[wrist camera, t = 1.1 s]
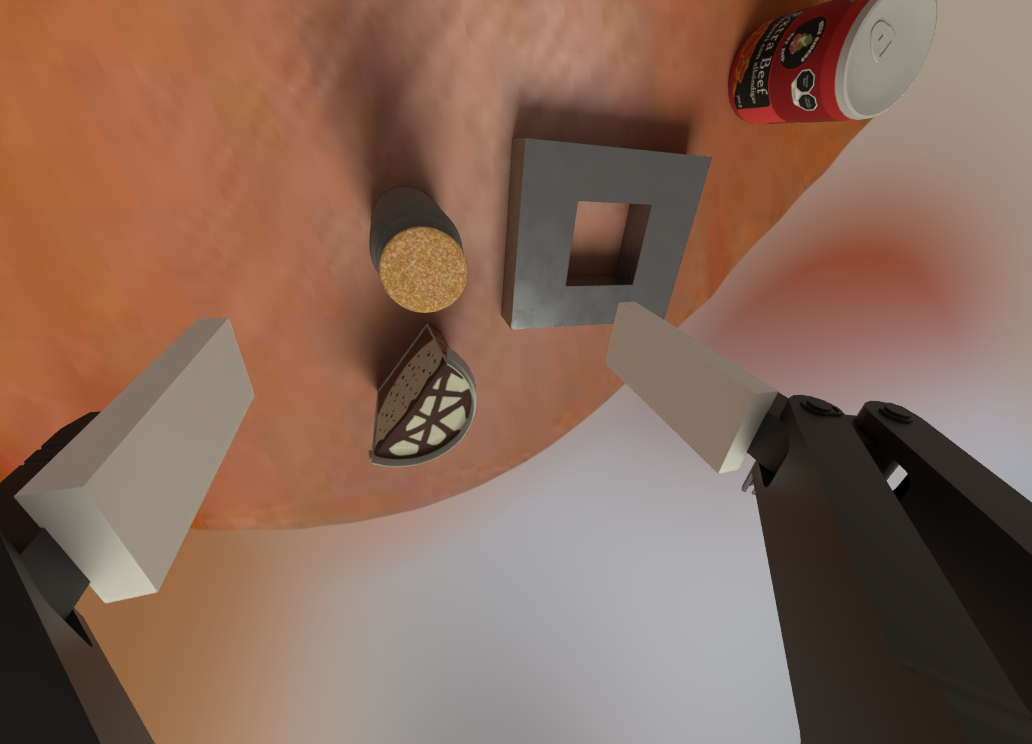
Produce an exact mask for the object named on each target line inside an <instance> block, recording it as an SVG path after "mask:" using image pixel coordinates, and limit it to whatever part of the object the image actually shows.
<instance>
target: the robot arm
mask: <svg viewBox="0 0 1032 744" xmlns="http://www.w3.org/2000/svg"><path fill="white" fill-rule="evenodd" d="M605 364H606V365H607V366H608V367H609V368H610V369H611V370H612V371H614V372H615V373H616V374H617V375H618V376H619V377H620V378H621V379H622V380H623V381H624V382H625V383H626V384H627V385H628V386H629V387H630V388H631V389H632V390H633V391H634V392H635V393H636V394H637V395H638V396H639V397H640V398H641V399H642V400H643V401H644V402H645V403H646V404H647V405H648V406H649V407H650V408H652V409H653V410H654V411H655V412H656V413H657V414H658V415H659V416H660V417H661V418H662V419H663V420H664V421H665V422H666V423H667V424H668V425H669V426H670V427H671V428H672V429H673V430H674V431H675V432H676V433H677V434H678V435H679V436H680V437H681V438H682V439H683V440H684V441H685V442H686V443H687V444H688V445H689V446H690V447H691V448H692V449H693V450H695V452H697V453H698V454H699V455H700V456H701V457H702V458H703V459H704V460H705V461H706V462H707V463H708V464H709V465H710V466H711V467H712V468H713V469H714V470H715V471H716V472H717V473H723V472H728V471H733V470H738V469H739V468H740V466H741V464H742V462H743V460H744V458H745V456H746V454H747V453H748V454H750V455H751V456H752V457H753V458H754V459H756V461H755V463H754V465H753V467H752V469H751V471H750V473H749V474H748V476H747V478H746V480H745V482H744V484H743V486H742V491H744V492H746V490H747V489H748V487H749V486H751V485H754V490H753V492H752V494H754V495H756V499H757V504H758V509H759V514H760V520H761V525H762V531H763V536H764V541H765V547H766V552H767V557H768V563H769V568H770V573H771V579H772V584H773V589H774V595H775V600H776V606H777V610H778V616H779V622H780V627H781V632H782V638H783V643H784V648H785V654H786V659H787V664H788V670H789V675H790V681H791V686H792V691H793V696H794V702H795V707H796V713H797V718H798V723H799V729H800V737H801V744H1032V502H1030V501H1029V500H1028V499H1026V498H1025V497H1024V496H1022V495H1021V494H1020V493H1019V492H1017V491H1016V490H1015V489H1013V488H1012V487H1011V486H1009V485H1008V484H1007V483H1006V482H1004V481H1003V480H1002V479H1000V478H999V477H998V476H996V475H995V474H994V473H993V472H991V471H990V470H989V469H987V468H986V467H985V466H983V465H982V464H981V463H979V462H978V461H977V460H975V459H974V458H973V457H971V456H970V455H969V454H968V453H966V452H965V451H964V450H962V449H961V448H960V447H958V446H957V445H956V444H955V443H953V442H952V441H951V440H949V439H948V438H947V437H945V436H944V435H943V434H942V433H940V432H939V431H937V430H936V429H935V428H934V427H932V426H931V425H930V424H928V423H927V422H926V421H924V420H923V419H922V418H920V417H919V416H917V415H916V414H914V413H912V412H910V411H909V410H907V409H905V408H904V407H902V406H899V405H895V404H892V403H884V402H880V401H869V402H866V403H865V404H864V405H863V407H862V409H861V410H860V412H859V413H858V415H857V416H853V415H845V414H844V413H843V412H842V411H841V410H840V409H839V408H838V407H836V406H834V405H832V404H830V403H828V402H825V401H824V400H821V399H817V398H814V397H811V396H805V395H793V396H792V397H790V398H789V399H788V398H787V397H785V396H783V395H782V394H780V393H779V392H778V390H776V389H775V388H773V387H771V386H770V385H768V384H767V383H765V382H763V381H762V380H760V379H758V378H757V377H755V376H754V375H752V374H750V373H749V372H747V371H746V370H744V369H742V368H741V367H739V366H738V365H736V364H734V363H733V362H731V361H730V360H728V359H726V358H725V357H723V356H721V355H720V354H718V353H717V352H715V351H713V350H712V349H710V348H709V347H707V346H705V345H704V344H702V343H701V342H699V341H697V340H696V339H694V338H693V337H691V336H689V335H688V334H686V333H684V332H683V331H681V330H680V329H678V328H676V327H675V326H673V325H672V324H670V323H668V322H667V321H665V320H664V319H662V318H660V317H659V316H657V315H656V314H654V313H652V312H651V311H649V310H647V309H646V308H644V307H643V306H641V305H639V304H638V303H636V302H621V303H618V308H617V312H616V317H615V321H614V326H613V330H612V335H611V339H610V344H609V349H608V353H607V358H606V362H605ZM254 396H255V395H254V392H253V389H252V386H251V383H250V380H249V377H248V374H247V371H246V368H245V365H244V362H243V359H242V356H241V353H240V350H239V347H238V344H237V341H236V338H235V335H234V332H233V329H232V326H231V323H230V320H229V318H205V319H197V320H196V321H195V322H194V323H193V324H192V325H190V326H189V327H188V328H187V329H186V330H185V331H184V332H183V333H182V334H181V335H180V336H179V337H178V338H177V339H176V340H175V341H174V342H173V343H172V344H171V345H170V346H169V347H168V348H167V349H166V350H165V351H164V352H163V353H162V354H161V355H159V356H158V357H157V358H156V359H155V360H154V361H153V362H152V363H151V364H150V365H149V366H148V367H147V368H146V369H145V370H144V371H143V372H142V373H141V374H140V375H139V376H138V377H137V378H136V379H135V380H134V381H133V382H132V383H131V384H129V385H128V386H127V387H126V388H125V389H124V390H123V391H122V392H121V393H120V394H119V395H118V396H117V397H116V398H115V399H114V400H113V401H112V402H111V403H110V404H109V405H108V406H107V407H106V408H105V409H104V410H103V411H100V412H90V413H88V414H86V415H84V416H83V417H81V418H79V419H77V420H75V421H74V422H72V423H70V424H68V425H66V426H65V427H63V428H61V429H60V430H59V431H58V432H57V433H55V434H54V435H53V436H52V437H51V438H50V439H49V440H48V441H46V442H45V443H44V444H43V445H42V446H41V450H36V451H35V452H34V453H33V454H32V455H31V456H30V457H29V458H28V459H26V460H25V461H24V463H25V464H24V465H20V466H19V467H18V468H16V469H15V470H14V471H13V472H12V473H11V474H10V475H9V476H7V477H6V478H5V479H4V480H3V481H2V482H1V483H0V744H155V743H154V741H153V740H152V738H151V736H150V734H149V732H148V731H147V729H146V727H145V726H144V724H143V722H142V720H141V718H140V716H139V715H138V713H137V711H136V709H135V708H134V706H133V704H132V702H131V701H130V699H129V697H128V695H127V694H126V692H125V690H124V688H123V686H122V685H121V683H120V681H119V680H118V678H117V676H116V674H115V673H114V671H113V669H112V667H111V665H110V664H109V662H108V660H107V658H106V657H105V655H104V653H103V651H102V649H101V648H100V646H99V644H98V643H97V641H96V639H95V637H94V635H93V633H92V632H91V630H90V628H89V626H88V625H87V623H86V621H85V619H84V618H83V616H82V615H81V614H80V613H79V612H78V611H77V610H76V609H75V608H74V606H75V605H76V603H77V602H78V600H79V599H80V597H81V596H82V594H83V593H84V591H85V590H86V588H87V587H88V585H90V586H91V587H92V588H93V590H94V591H95V592H96V593H97V594H98V595H99V597H100V598H101V599H102V600H103V601H104V602H105V603H109V602H113V601H118V600H123V599H128V598H133V597H137V596H142V595H147V594H152V593H156V592H158V591H159V589H160V587H161V584H162V582H163V580H164V578H165V576H166V574H167V572H168V570H169V568H170V566H171V564H172V562H173V560H174V558H175V556H176V554H177V552H178V550H179V548H180V546H181V544H182V542H183V540H184V538H185V536H186V534H187V532H188V530H189V528H190V526H191V524H192V522H193V520H194V518H195V516H196V514H197V512H198V510H199V507H200V505H201V503H202V501H203V499H204V497H205V495H206V493H207V491H208V489H209V487H210V485H211V483H212V481H213V479H214V477H215V475H216V473H217V471H218V469H219V467H220V465H221V463H222V461H223V459H224V457H225V455H226V453H227V451H228V449H229V447H230V445H231V443H232V441H233V439H234V437H235V434H236V432H237V430H238V428H239V426H240V424H241V422H242V420H243V418H244V416H245V414H246V412H247V410H248V408H249V406H250V404H251V402H252V400H253V398H254ZM898 465H900V466H901V467H902V468H903V469H904V470H905V471H906V472H907V473H908V474H907V476H906V477H905V478H904V479H903V480H902V482H901V483H900V484H899V485H898V487H897V488H896V489H894V490H893V491H892V489H891V488H890V486H889V484H888V483H887V481H886V480H887V479H888V478H889V477H890V475H891V474H892V473H893V472H894V470H895V469H896V468H897V467H898Z"/></svg>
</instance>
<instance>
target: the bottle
mask: <svg viewBox="0 0 1032 744" xmlns="http://www.w3.org/2000/svg"><path fill="white" fill-rule="evenodd" d="M370 254H371V259H372V262H373V264H374V267H375V269H376V270H377V272H378V274H379V276H380V279H381V282H382V284H383V286H384V288H385V290H386V292H387V293H388V295H389V296H390V297H391V298H392V299H393V300H394V301H395V302H396V303H398V304H399V305H401V306H402V307H404V308H406V309H409V310H412V311H415V312H422V313H427V312H435V311H439V310H441V309H444V308H446V307H447V306H449V305H451V304H452V303H453V302H454V301H455V300H456V299H457V298H458V297H459V296H460V294H461V293H462V291H463V289H464V287H465V284H466V281H467V274H468V268H467V261H466V258H465V255H464V251H463V248H462V242H461V239H460V235H459V233H458V231H457V229H456V227H455V226H454V224H453V223H452V221H451V220H450V219H449V218H448V216H447V215H446V214H445V213H444V212H443V211H442V210H441V209H440V207H439V206H438V205H437V204H436V203H435V202H434V201H433V200H432V199H431V198H430V197H429V196H427V195H426V194H425V193H423V192H422V191H420V190H418V189H415V188H412V187H395V188H392V189H390V190H388V191H386V192H385V193H383V194H382V195H381V196H380V197H379V199H378V200H377V202H376V203H375V206H374V208H373V212H372V217H371V228H370Z"/></svg>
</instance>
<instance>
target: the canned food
mask: <svg viewBox="0 0 1032 744" xmlns="http://www.w3.org/2000/svg"><path fill="white" fill-rule="evenodd" d="M936 21H937V1H936V0H832V1H828V2H825V3H822V4H819V5H816V6H813V7H809V8H806V9H803V10H800V11H797V12H794V13H790V14H787V15H784V16H781V17H778V18H775V19H772V20H770V21H768V22H766V23H765V24H763V25H762V26H760V27H759V28H758V29H756V30H755V31H754V32H753V33H752V34H751V35H750V36H749V37H748V38H747V39H746V40H745V42H744V43H743V44H742V46H741V47H740V49H739V51H738V53H737V55H736V57H735V60H734V62H733V65H732V69H731V72H730V78H729V98H730V103H731V106H732V109H733V110H734V112H735V114H736V115H737V116H738V117H739V118H741V119H743V120H745V121H747V122H749V123H752V124H774V123H800V122H827V121H846V120H860V119H866V118H873V117H875V116H878V115H880V114H882V113H883V112H885V111H886V110H888V109H889V108H890V107H892V106H893V105H894V104H895V103H896V102H897V101H898V100H899V99H900V98H901V97H902V96H903V95H904V94H905V92H906V91H907V90H908V88H909V87H910V86H911V84H912V83H913V82H914V80H915V78H916V77H917V75H918V73H919V71H920V70H921V68H922V66H923V64H924V61H925V59H926V57H927V55H928V52H929V49H930V47H931V44H932V40H933V36H934V33H935V28H936Z"/></svg>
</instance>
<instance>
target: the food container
mask: <svg viewBox="0 0 1032 744" xmlns="http://www.w3.org/2000/svg"><path fill="white" fill-rule="evenodd" d="M476 403H477V400H476V384H475V380H474V377H473V374H472V372H471V370H470V368H469V367H468V365H467V364H466V363H465V361H464V360H463V359H462V358H461V357H460V356H459V355H458V354H457V353H456V352H454V351H453V350H451V349H450V348H449V347H448V345H447V344H446V342H445V340H444V338H443V337H442V336H441V334H440V333H439V332H438V331H437V330H436V329H435V328H434V327H432V326H431V325H430V324H428V323H427V324H426V325H425V326H424V328H423V329H422V331H421V332H420V333H419V335H418V336H417V337H416V339H415V340H414V342H413V343H412V344H411V346H410V347H409V349H408V350H407V351H406V353H405V354H404V355H403V357H402V358H401V360H400V361H399V362H398V364H397V365H396V366H395V368H394V369H393V371H392V372H391V373H390V375H389V376H388V377H387V379H386V380H385V382H384V383H383V384H382V386H381V387H380V388H379V390H378V391H377V401H376V412H375V423H374V434H373V445H372V451H371V450H369V458H370V460H371V463H372V464H376V465H380V466H387V467H407V466H414V465H419V464H423V463H426V462H429V461H432V460H434V459H436V458H438V457H440V456H442V455H444V454H445V453H447V452H448V451H450V450H451V449H452V448H453V447H455V446H456V445H457V444H458V443H459V442H460V441H461V440H462V439H463V437H464V436H465V434H466V433H467V432H468V430H469V428H470V426H471V424H472V421H473V418H474V415H475V412H476Z"/></svg>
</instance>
